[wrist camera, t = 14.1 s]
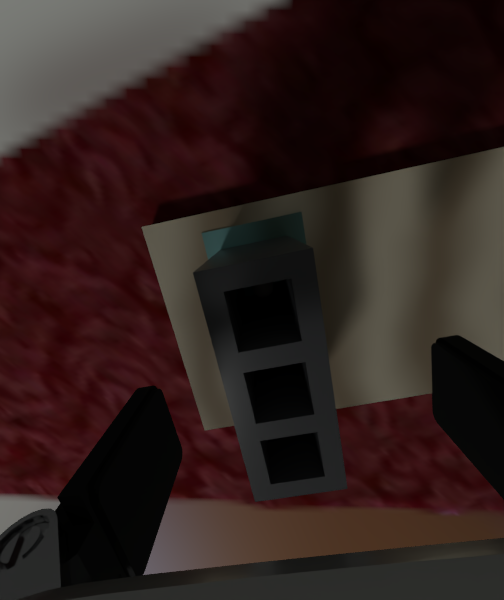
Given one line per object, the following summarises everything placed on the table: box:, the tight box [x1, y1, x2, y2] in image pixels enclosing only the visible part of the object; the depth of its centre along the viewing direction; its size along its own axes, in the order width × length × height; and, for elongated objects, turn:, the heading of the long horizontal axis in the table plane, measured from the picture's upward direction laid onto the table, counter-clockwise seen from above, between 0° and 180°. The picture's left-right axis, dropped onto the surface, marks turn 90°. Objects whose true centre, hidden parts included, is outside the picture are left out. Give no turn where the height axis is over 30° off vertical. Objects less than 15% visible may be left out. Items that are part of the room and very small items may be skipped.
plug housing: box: [193, 236, 347, 502], centre depth 13 cm, size 10×4×7 cm, turn 12°
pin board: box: [142, 147, 504, 430], centre depth 15 cm, size 20×14×5 cm
